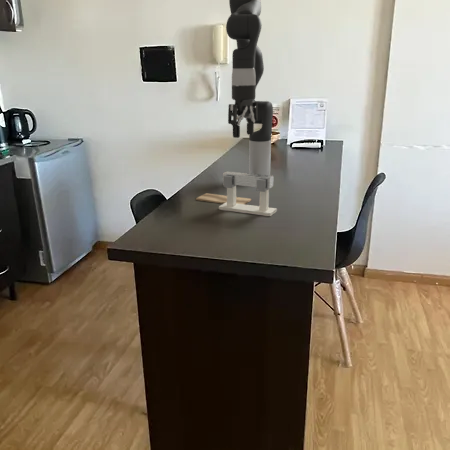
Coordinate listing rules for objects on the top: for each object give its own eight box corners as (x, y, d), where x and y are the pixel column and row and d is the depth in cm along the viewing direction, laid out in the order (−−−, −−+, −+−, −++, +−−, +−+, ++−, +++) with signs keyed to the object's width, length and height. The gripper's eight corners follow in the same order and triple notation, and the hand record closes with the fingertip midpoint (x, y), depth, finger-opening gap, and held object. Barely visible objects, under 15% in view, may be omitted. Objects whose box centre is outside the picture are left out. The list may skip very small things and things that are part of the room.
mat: (206, 194, 175) (205, 193, 174) (251, 200, 167) (251, 198, 167) (195, 200, 168) (195, 198, 168) (242, 206, 160) (242, 204, 160)
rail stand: (226, 204, 162) (226, 171, 158) (277, 211, 154) (278, 176, 150) (218, 209, 156) (217, 175, 152) (270, 216, 148) (271, 180, 144)
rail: (227, 181, 157) (227, 171, 156) (273, 186, 150) (273, 175, 149) (222, 183, 154) (222, 173, 153) (269, 188, 147) (269, 178, 146)
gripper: (245, 83, 150) (245, 132, 155) (221, 84, 139) (221, 137, 144) (265, 83, 146) (264, 134, 151) (241, 84, 135) (241, 139, 140)
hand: (243, 136), depth 147 cm, fingers open, 8 cm apart
